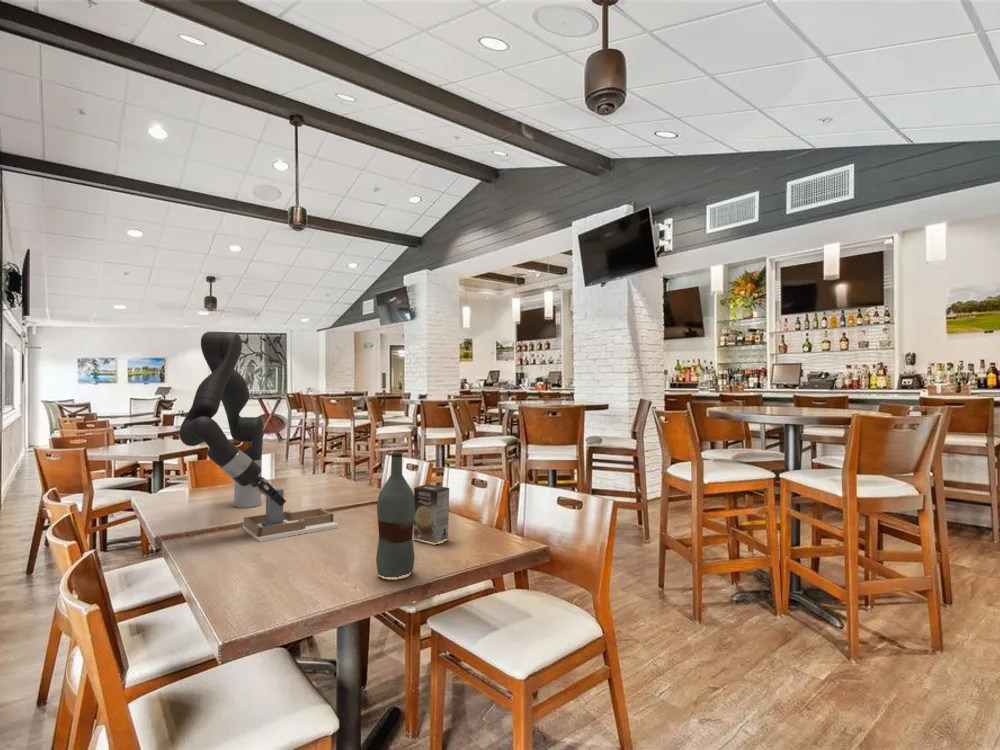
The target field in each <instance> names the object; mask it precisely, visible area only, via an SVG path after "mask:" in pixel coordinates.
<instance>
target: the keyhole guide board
mask: <svg viewBox="0 0 1000 750" xmlns="http://www.w3.org/2000/svg"><path fill="white" fill-rule="evenodd" d="M264 521H266V513H264V514H259V515H251V516H244V517H243V524H242V529H243V530H244V531H245V532H246V533H248V534H249V535H250V536H252V537H253V538H254V539H255V540H257V542H259V543H261V542H266V540H267V541H273V540H277V538H279V539H283V537H284V538H289V537H288V536H290V537H294V536H293V535H295V536H299V535H298V534H301V535H305V534H304V533H307V534H311V533H310V532H312V533H316V531H318V532H322V530H324V531H328V529H329V530H334V529H333V528H335V529H338V528H339V524H338V523H336V522H334V513H332V512H330V511H328V510H326V509H324V508H322V507H319V508H313V509H307V510H306V509H305V510H299V511H293V512H291V511H290V510H288V511H287V510H286V511H284V510H283V521H285V522H287V523H284V524H278V525H272V526H266V527H263V526H262V525H261V522H264ZM272 539H273V540H272Z"/></svg>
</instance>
